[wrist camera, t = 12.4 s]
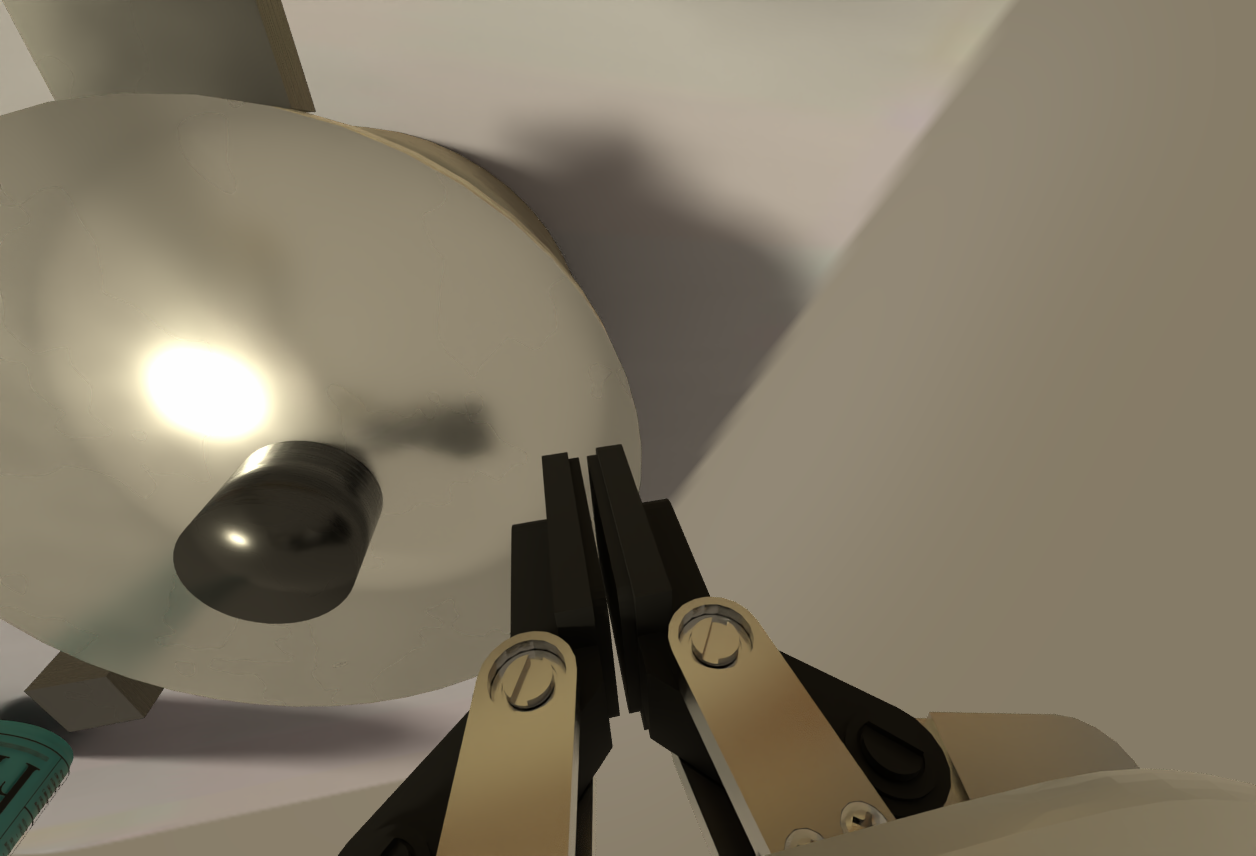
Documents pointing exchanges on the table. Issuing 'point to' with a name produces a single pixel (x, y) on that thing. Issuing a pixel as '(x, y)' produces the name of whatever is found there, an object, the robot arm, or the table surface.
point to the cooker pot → (199, 65)
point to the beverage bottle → (27, 776)
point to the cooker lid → (274, 399)
